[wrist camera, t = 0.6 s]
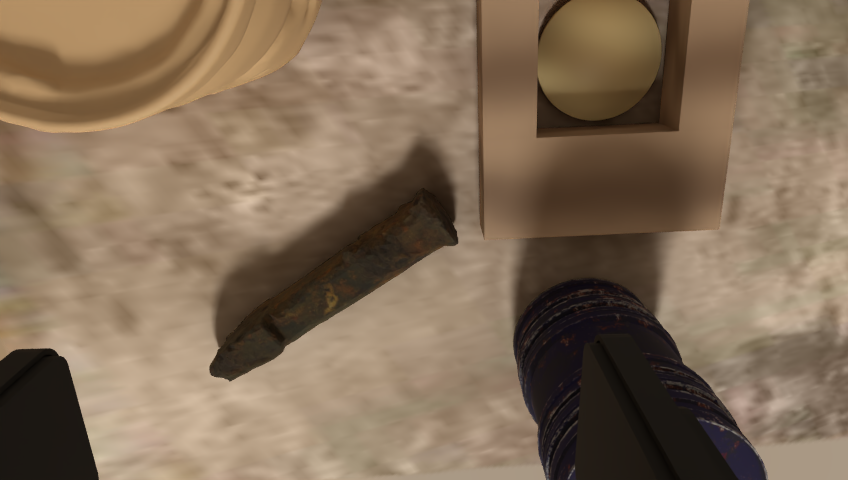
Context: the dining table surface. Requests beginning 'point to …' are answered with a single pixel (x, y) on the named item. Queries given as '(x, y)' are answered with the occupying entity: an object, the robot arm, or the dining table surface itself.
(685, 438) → the robot arm
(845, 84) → the dining table surface
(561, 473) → the navy ridged cylinder
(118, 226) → the dining table surface
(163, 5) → the container
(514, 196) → the holder
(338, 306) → the hand tool
